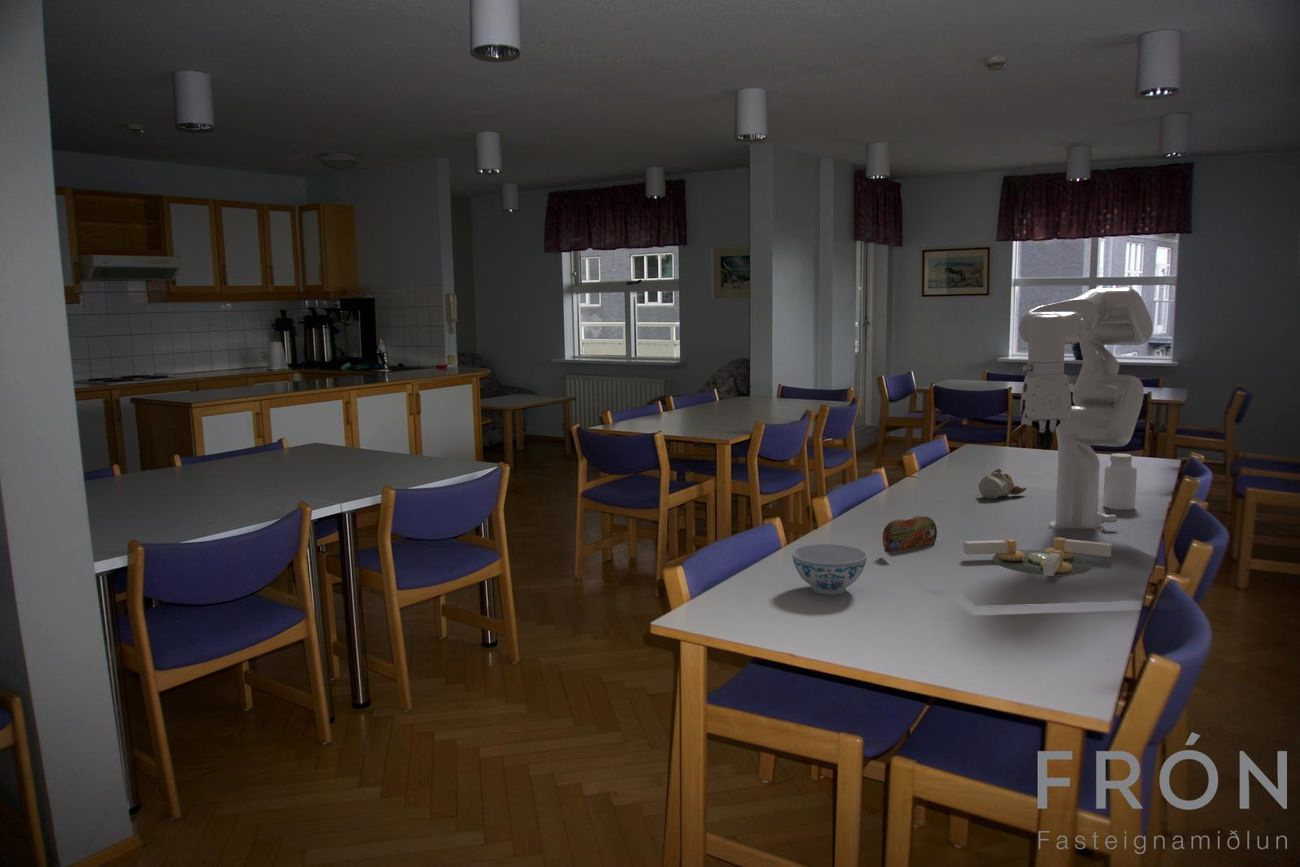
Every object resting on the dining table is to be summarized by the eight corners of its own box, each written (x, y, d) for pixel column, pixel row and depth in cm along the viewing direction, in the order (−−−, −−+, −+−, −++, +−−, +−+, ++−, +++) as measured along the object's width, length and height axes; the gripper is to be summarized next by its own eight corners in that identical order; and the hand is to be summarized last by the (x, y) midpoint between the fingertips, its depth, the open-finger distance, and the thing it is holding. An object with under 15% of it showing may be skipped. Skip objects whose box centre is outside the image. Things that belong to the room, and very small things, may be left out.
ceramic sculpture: (969, 468, 268) (997, 465, 277) (967, 496, 269) (995, 492, 278) (1002, 473, 259) (1030, 469, 269) (1000, 502, 260) (1027, 498, 270)
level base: (1064, 554, 205) (1064, 541, 205) (1111, 580, 186) (1111, 565, 185) (977, 557, 205) (978, 543, 204) (1016, 583, 185) (1016, 568, 185)
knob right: (1043, 557, 197) (1043, 540, 197) (1047, 550, 202) (1047, 534, 202) (1109, 564, 191) (1110, 547, 190) (1111, 557, 196) (1112, 540, 195)
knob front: (1043, 563, 193) (1043, 546, 192) (1073, 567, 189) (1074, 549, 189) (1031, 579, 182) (1032, 561, 181) (1063, 583, 179) (1064, 565, 178)
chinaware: (851, 606, 174) (852, 567, 173) (780, 594, 182) (780, 557, 181) (876, 585, 186) (876, 549, 185) (808, 575, 194) (808, 540, 193)
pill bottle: (1104, 509, 249) (1106, 456, 247) (1101, 503, 256) (1104, 452, 254) (1136, 511, 246) (1139, 457, 244) (1133, 505, 253) (1135, 453, 251)
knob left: (1017, 553, 201) (1017, 536, 201) (1029, 560, 195) (1029, 543, 195) (959, 555, 201) (960, 538, 200) (970, 562, 195) (970, 545, 194)
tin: (889, 559, 206) (889, 523, 204) (879, 555, 208) (880, 520, 207) (937, 549, 212) (938, 515, 211) (927, 546, 215) (928, 512, 214)
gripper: (1022, 372, 199) (1020, 453, 202) (1086, 368, 200) (1084, 449, 203) (1006, 369, 207) (1005, 447, 210) (1068, 366, 208) (1066, 443, 211)
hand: (1044, 448), depth 206 cm, fingers closed
